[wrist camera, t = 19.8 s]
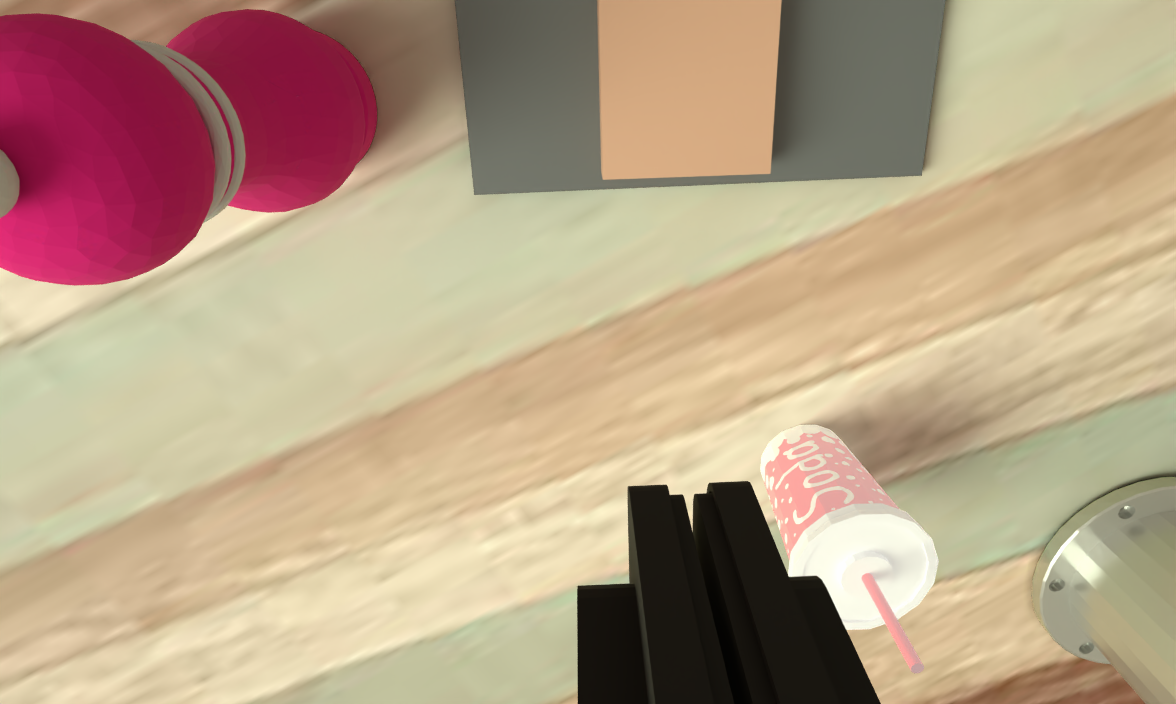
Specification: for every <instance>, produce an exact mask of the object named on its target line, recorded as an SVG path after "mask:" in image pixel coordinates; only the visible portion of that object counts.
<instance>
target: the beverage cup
mask: <svg viewBox="0 0 1176 704" xmlns="http://www.w3.org/2000/svg"><path fill="white" fill-rule="evenodd" d="M760 471H761V474H762V477H763V480H764V483H765V486H766V489H767V492H768V495H769V498H770V502H771V505H772V508H773V511H774V514H775V517H776V520H777V523H778V526H779V529H780V533H781V536H782V539H783V542H784V545H785V548H786V551H787V554H788V557H789V560H790V562H789V571H788V575H789V577H795V576H818V577H819V578H821V579H822V581H823V583H824V584H825V586H826V588H827V590H828V592H829V594H830V596H831V598H832V600H833V603H834V605H835V607H836V609H837V611H838V613H839V615H840V618H841V620H842V622H843V624H844V626H845V628H846V630H854V629H872V628H875V627H878V626H881V625H884V624H886V626H887V627H888V629H889V631H890V633H891V635H892V637H893V638H894V640H895V642H896V644H897V646H898V648H899V650H900V651H901V653H902V655H903V657H904V659H905V661H906V662H907V664H908V666H909V668H910V670H911V671H912V672H913V673H920V672H921V671H923V669H924V666H923V664H922V662H921V660H920V659H919V657H918V655H917V653H916V651H915V650H914V648H913V646H912V644H911V643H910V641H909V639H908V637H907V636H906V634H905V632H904V630H903V629H902V627H901V625H900V623H899V621H898V619H899V618H900V617H902V616H903V615H905V614H906V613H908V612H909V611H910V610H912V609H913V608H915V607H916V606H918V605H919V604H920V602H921V601H922V600H923V598H924V597H925V595H926V594H927V593H928V591H929V590H930V588H931V587H932V586H933V584H934V581H935V576H936V571H937V566H938V562H939V560H938V557H937V554H936V550H935V547H934V544H933V540H932V538H931V537H930V536H929V535H928V534H927V533H926V532H925V531H924V529H923V527H922V526H920V525H919V524H918V523H917V522H916V521H915V520H914V519H913V518H912V517H911V516H910V515H909V514H908V513H907V512H906V511H903V510H900V509H899V508H898V507H897V505H896V504H895V503H894V502H893V501H892V500H891V498H890V497H889V496H888V495H887V494H886V492H885V491H884V490H883V489H882V488H881V486H880V485H879V484H878V483H877V482H876V481H875V479H874V478H873V477H872V476H871V475H870V473H869V472H868V471H867V470H866V469H865V467H864V466H863V465H862V464H861V463H860V462H859V460H858V459H857V458H856V457H855V456H854V454H853V453H852V452H851V451H850V450H849V449H848V447H847V446H846V445H845V444H844V443H843V441H842V440H841V439H840V438H839V437H838V436H837V435H836V434H835V433H834V432H833V431H832V430H830V429H827V428H824V427H821V426H819V425H797V426H795V427H792V428H789V429H787V430H784V431H782V432H781V433H779V434H778V435H777V436H776V437H775V438H773V439H772V440H771V441H770V442H769V443H768V445H767V447H766V449H765V451H764V452H763V454H762V458H761V469H760Z"/></svg>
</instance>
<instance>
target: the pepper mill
mask: <svg viewBox="0 0 1176 704" xmlns="http://www.w3.org/2000/svg"><path fill="white" fill-rule="evenodd" d="M376 124H377V106H376V99H375V95H374V91H373V88H372V85H371V83H370V80H369V78H368V76H367V74H366V73H365V71H364V69H363V68H362V66H361V65H360V63H359V62H358V61H357V59H356V58H355V57H354V56H353V55H352V54H351V53H350V52H349V51H348V50H347V49H346V48H345V47H344V46H342V45H341V44H340V43H338V42H337V41H335V40H334V39H332V38H330V37H328V36H327V35H325V34H322V33H320V32H317V31H314V30H312V29H310V28H309V27H307V26H305V25H304V24H302V23H300V22H298V21H297V20H295V19H292V18H289V17H287V16H284V15H282V14H279V13H274V12H270V11H265V10H251V9H245V10H237V11H228V12H221V13H218V14H214V15H211V16H208V17H205V18H203V19H201V20H199V21H197V22H195V23H193V24H191V25H190V26H189V27H188V28H186V29H185V30H184V31H182V32H181V33H180V34H178V35H177V36H176V37H175V38H173V39H172V40H171V41H170V42H169V43H168V45H167V46H166V47H165V46H162V45H159V44H156V43H151V42H146V41H138V40H129V39H127V38H125V37H124V36H122V35H120V34H117V33H115V32H113V31H111V30H108V29H106V28H104V27H101V26H99V25H97V24H94V23H90V22H85V21H81V20H77V19H72V18H68V17H63V16H59V15H50V14H18V15H5V16H0V268H3V269H5V270H7V271H10V272H12V273H14V274H17V275H19V276H22V277H25V278H29V279H32V280H36V281H43V282H49V283H56V284H64V285H98V284H107V283H111V282H116V281H121V280H126V279H130V278H133V277H135V276H138V275H140V274H143V273H146V272H148V271H150V270H152V269H154V268H156V267H158V266H160V265H162V264H164V263H166V262H167V261H168V260H170V259H171V258H172V257H174V256H175V255H177V254H178V253H179V252H180V251H181V250H182V249H183V248H184V247H185V246H186V245H187V244H188V243H189V242H190V241H191V240H192V239H193V238H194V237H196V235H197V233H198V231H199V229H200V228H201V226H202V224H203V223H204V222H206V221H208V220H209V219H211V218H213V217H214V216H216V215H217V214H218V213H219V212H221V211H222V210H223V209H225V207H226V206H227V205H228V206H232V207H236V208H240V209H245V210H251V211H259V212H286V211H290V210H294V209H297V208H301V207H305V206H308V205H311V204H314V203H316V202H318V201H320V200H322V199H324V198H326V197H328V196H329V195H330V194H332V193H333V192H334V191H335V190H337V189H338V188H339V187H340V186H341V185H342V184H343V183H344V181H345V180H346V179H347V178H348V176H349V175H350V174H351V172H352V171H353V169H354V167H355V165H356V164H357V163H358V162H359V161H360V160H361V159H362V158H363V157H364V155H365V154H366V152H367V151H368V149H369V147H370V145H371V143H372V140H373V138H374V134H375V130H376Z"/></svg>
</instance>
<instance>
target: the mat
mask: <svg viewBox="0 0 1176 704" xmlns="http://www.w3.org/2000/svg"><path fill="white" fill-rule="evenodd" d="M455 6H456V16H457V26H458V36H459V46H460V56H461V66H462V77H463V87H464V97H465V107H466V117H467V127H468V137H469V147H470V157H471V167H472V177H473V187H474V195H483V194H507V193H530V192H553V191H576V190H599V189H622V188H646V187H669V186H692V185H715V184H738V183H761V182H785V181H808V180H831V179H854V178H877V177H900V176H922V170H923V162H924V155H925V147H926V140H927V133H928V125H929V118H930V110H931V103H932V96H933V88H934V81H935V74H936V66H937V59H938V51H939V44H940V37H941V29H942V22H943V15H944V7H945V0H782V1H781V16H780V32H779V48H778V64H777V79H776V95H775V111H774V126H773V142H772V158H771V174H751V175H723V176H695V177H667V178H638V179H610V180H603V178H602V173H601V139H600V99H599V58H598V18H597V0H455Z"/></svg>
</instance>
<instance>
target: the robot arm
mask: <svg viewBox="0 0 1176 704" xmlns="http://www.w3.org/2000/svg"><path fill="white" fill-rule="evenodd" d="M628 536H629V581H630V584H610V585H587V586H578V589H577V618H578V704H881V703H880V701H879V699H878V697H877V695H876V693H875V690H874V688H873V686H872V684H871V682H870V680H869V678H868V675H867V673H866V671H865V669H864V667H863V665H862V663H861V660H860V658H859V656H858V654H857V652H856V650H855V648H854V645H853V643H852V641H851V639H850V637H849V635H848V633H847V630H846V628H845V626H844V624H843V622H842V620H841V618H840V615H839V613H838V611H837V609H836V607H835V605H834V603H833V600H832V598H831V596H830V594H829V592H828V590H827V588H826V586H825V584H824V583H823V581H822V579H821V578H819V577H818V576H795V577H788V574H787V572H786V569H785V567H784V564H783V562H782V559H781V557H780V554H779V552H778V549H777V547H776V544H775V542H774V539H773V537H772V535H771V532H770V530H769V527H768V525H767V522H766V520H765V517H764V515H763V512H762V510H761V507H760V505H759V502H758V500H757V497H756V495H755V493H754V490H753V488H752V485H751V484H750V482H748V481H741V482H718V483H709V484H708V488H707V493H706V494H695V495H694V499H693V532H692V528H691V524H690V520H689V516H688V512H687V508H686V503H685V499H684V496H683V495H669V490H668V486H667V485H648V486H628ZM1031 597H1032V602H1033V607H1034V611H1035V613H1036V615H1037V617H1038V619H1039V621H1040V623H1041V625H1042V626H1043V627H1044V628H1045V630H1046V631H1047V632H1048V633H1049V635H1050V636H1051V637H1052V638H1053V640H1054V641H1055V642H1057V643H1058V644H1059V645H1060V646H1061V647H1062V648H1064V649H1065V650H1066V651H1068V652H1070V653H1072V654H1073V655H1075V656H1077V657H1079V658H1083V659H1086V660H1090V661H1093V662H1097V663H1105V664H1112V666H1113V667H1114V668H1115V669H1116V670H1117V671H1118V673H1119V674H1120V675H1121V676H1122V677H1123V678H1124V679H1125V681H1126V682H1127V683H1128V684H1129V685H1130V686H1131V687H1132V689H1133V690H1134V691H1135V692H1136V693H1137V694H1138V695H1139V697H1140V698H1141V699H1142V700H1143V701H1144V702H1145V703H1146V704H1176V477H1161V478H1156V479H1151V480H1146V481H1141V482H1137V483H1134V484H1131V485H1129V486H1126V487H1123V488H1120V489H1117V490H1115V491H1113V492H1111V493H1109V494H1107V495H1105V496H1103V497H1101V498H1099V499H1097V500H1095V501H1094V502H1092V503H1091V504H1089V505H1088V506H1086V507H1085V508H1084V509H1082V510H1081V511H1079V512H1078V513H1076V514H1075V515H1074V516H1073V517H1072V518H1071V519H1070V520H1069V521H1068V522H1067V523H1066V524H1064V525H1063V526H1062V527H1061V528H1060V529H1059V531H1058V532H1057V533H1056V534H1055V536H1054V537H1053V538H1052V539H1051V541H1050V542H1049V543H1048V544H1047V546H1046V548H1045V550H1044V552H1043V553H1042V555H1041V557H1040V559H1039V561H1038V563H1037V566H1036V569H1035V573H1034V576H1033V579H1032V593H1031Z"/></svg>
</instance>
